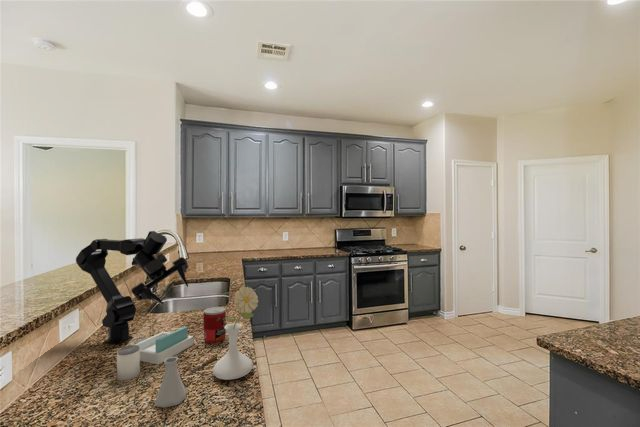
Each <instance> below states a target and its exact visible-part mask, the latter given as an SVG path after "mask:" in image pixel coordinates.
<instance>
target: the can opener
mask: <svg viewBox="0 0 640 427" xmlns="http://www.w3.org/2000/svg"><path fill="white" fill-rule="evenodd" d="M217 359H218V357H217V356H213V357H212V358H210V359H209V360H207V361H206V362H204V363H202V365H200V366H197V367H195V368H194V369H193V370H192V372H197V370H198V371H199V370H200V369H203V368H204V367H206V366H208V365H209V364H211V363H214V362H215V361H216V360H217Z"/></svg>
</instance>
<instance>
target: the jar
mask: <svg viewBox="0 0 640 427" xmlns="http://www.w3.org/2000/svg"><path fill="white" fill-rule="evenodd" d="M116 352H117V353H116V380H118V381H120V382H122V381H123V380H124V381H128V380H129V381H130V380H132V379H134V377H135V378H137V377H138V376H139V375H140V373H141V361H140V348H139V346H138V345H134V344H133V345H132V344H130V345H126V346H123V347H121V348H119V349H118V350H117V351H116ZM137 375H138V376H137Z"/></svg>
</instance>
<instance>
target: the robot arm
mask: <svg viewBox="0 0 640 427" xmlns="http://www.w3.org/2000/svg"><path fill="white" fill-rule="evenodd" d="M166 242H167V237H166V236H165V235H164V234H162V233H158V232H156V230H152V231H151V230H149V231H148V234H147V236H146V238H130V239H128V238H127V239H122V240H119V239H109V238H108V239H107V238H100V239H99V238H96V239H94V240H92V241H91V242H90V244H89V245H87V246H85V247H84V248H83V249H82V248H81V250H80V252H79V253H78V254H77V255H76V257H75V263H76V264H77V266H78V267H79V268H80V270H81V271H83V272H85V273H88V274H89V275H90V276H91V278H92V280H93V281H94V283H95V285H96V286H97V289H98V290H99V291H100V293H101V294H102V297H103V298H104V300H105V302H106V304H107V305H106V309H105V312H106V315H105V316H104V317H103V318H102V320H101V323H102V324H101V325H102V327H104V328H107V329H108V332H107V333H108V334H107V335H108V338H107V339H105V340H103V341H104V343H109V344H114V345H118V344H120V343H122V342H125V341H128V340H129V339H131V338H133V335H130V333H129V332H130V330H129V329H130V327H129V326H130V325H129V322H132V321H134V319H135V315H136V312H137V307H136V305H135V304H136V303H135V302H134V301H133V299H132V297H131V296H130V295H126V296H123V295H122V294H121V292H120V290H119V288H118V287H117V285H116V284H115V282H114V280H113V278H112V277H111V275H110V274H109V272H108V270H107V269H106V267H105V266H106V262H107V259H106V258H107V257H108V254H109V251H114V252H115V251H116V252H120V254H122V255H125V256H132V255H134V257H133V258H132V262H131V266H139V267H140V269H141V270H142V271H143V272H144V273H145V275H146V276H147V277H148V278H149V280H150V281H149V282H147V283H145V284H144V282H143V281H142V282H140V283H138V284H136V285H135V286H134V287H132V288H131V293H132V294H133V295H134V297H135V298H136V299H137V301H139V302H140V301H142V300H145V301H146V300H147V299H148V300H150V301H151V300H152V301H154V302H156V303H158V304H160V305H161V306H163V305H164V302H163V301H162V300H161V299H160V298H159V297H158V296H157V295H156V294H155V293H154V292H153V291H151V288H153V287H154V286H156V285H157V284H158V283H161V282H162V281H164V280H165V279H167V277H169V276H171V275H172V274H174V273H175V272H177V274H178V276H179V278H180V279H181V281H182V283H184V285H185V286H186V287H187V288H188V287H189V283H188V281H187V278H186V274H185V273H187V271H188V268H189V265H188V262H187V260H186V259H185V257H182V256H181V257H179V258H177V259H175V260H174V261H173V262H171V263H172V267H170V268H168V269H167V267H166V265H165V263H167V262H168V258H167V257H166V256H165V255H164V253H161V251H162V249H163V247H164V246H165V244H166ZM155 255H157V256H155Z"/></svg>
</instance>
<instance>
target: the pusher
mask: <svg viewBox="0 0 640 427" xmlns="http://www.w3.org/2000/svg"><path fill="white" fill-rule="evenodd" d="M188 328H189V326H186V325H185V326H183V327H181V328H179V329H177V330H175V331H173V332H169V333H170V334H168V335H165V336H163V337H161V338H159V339H157V340H156V353H159V352H161V351H163V350H165V349H167V348H169V347H171V346H173V345H175V344H177V343H179V342H181V341H183V340H184V339H186V338H188V335H189V333H188V331H189V330H188Z"/></svg>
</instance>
